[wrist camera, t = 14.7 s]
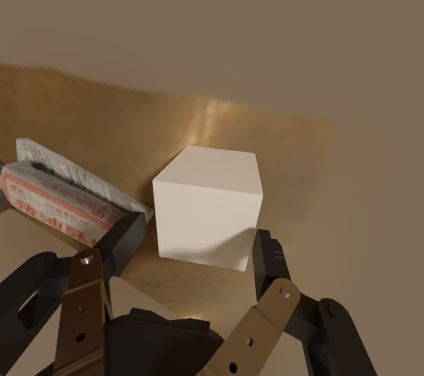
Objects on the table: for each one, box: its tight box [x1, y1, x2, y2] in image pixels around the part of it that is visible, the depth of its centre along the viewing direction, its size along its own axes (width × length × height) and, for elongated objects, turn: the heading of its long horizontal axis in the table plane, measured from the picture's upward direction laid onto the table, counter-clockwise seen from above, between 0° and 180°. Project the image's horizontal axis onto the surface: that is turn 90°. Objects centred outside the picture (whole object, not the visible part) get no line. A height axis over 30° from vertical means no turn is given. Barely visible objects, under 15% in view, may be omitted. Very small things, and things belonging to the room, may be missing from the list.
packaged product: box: [0, 138, 154, 247], centre depth 24 cm, size 18×5×10 cm
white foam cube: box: [153, 146, 263, 271], centre depth 17 cm, size 7×7×9 cm
